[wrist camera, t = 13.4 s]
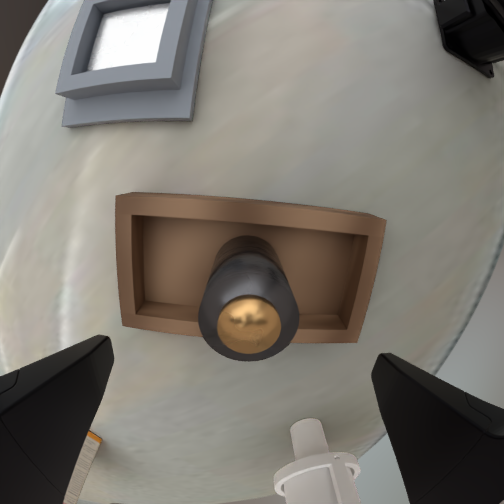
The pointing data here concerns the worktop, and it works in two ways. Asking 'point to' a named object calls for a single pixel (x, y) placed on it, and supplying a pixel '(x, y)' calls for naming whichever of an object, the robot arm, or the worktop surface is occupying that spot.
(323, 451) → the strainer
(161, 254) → the walnut trough
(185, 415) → the worktop surface
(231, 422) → the worktop surface
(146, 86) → the frame
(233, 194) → the worktop surface
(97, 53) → the plate
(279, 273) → the cylinder
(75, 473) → the supplement box
